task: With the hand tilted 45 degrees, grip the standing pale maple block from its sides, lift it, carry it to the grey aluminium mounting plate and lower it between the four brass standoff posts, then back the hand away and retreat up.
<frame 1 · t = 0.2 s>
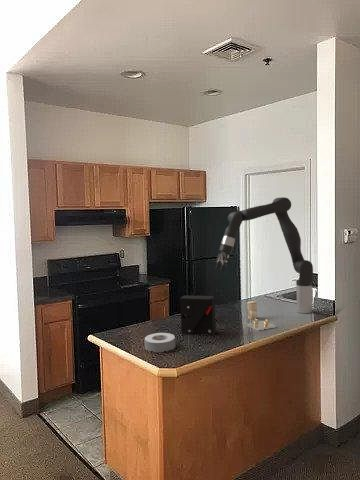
hand: (219, 270, 241), 31 cm above the table, tool tilted 20°, fingers open, 8 cm apart
tape roll: (160, 347, 202), on the table
block: (252, 318, 246), on the table
electrical component: (199, 332, 222), on the table
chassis: (261, 326, 228), on the table
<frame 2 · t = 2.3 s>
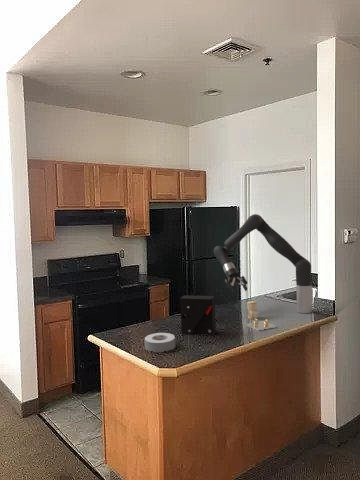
hand: (240, 291, 255), 15 cm above the table, tool tilted 45°, fingers open, 8 cm apart
nothing on the table moved.
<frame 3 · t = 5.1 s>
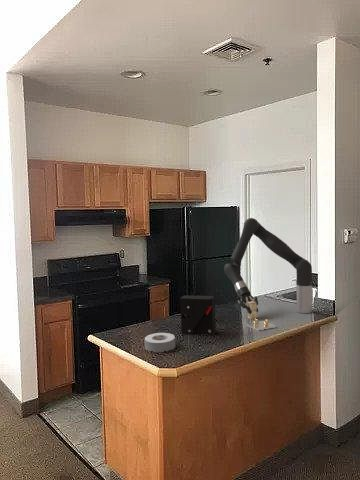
hand: (254, 312, 244), 4 cm above the table, tool tilted 45°, fingers closed on block, 4 cm apart
block: (252, 318, 246), on the table, touching gripper
everything else where it was.
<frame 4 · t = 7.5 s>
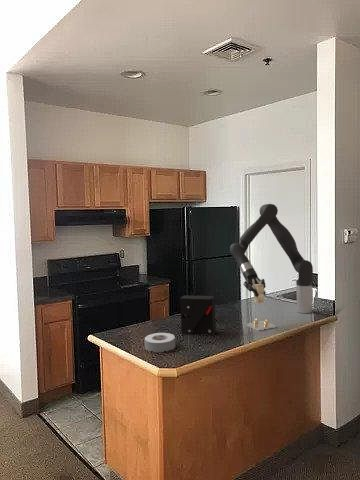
hand: (261, 295, 226), 18 cm above the table, tool tilted 45°, fingers closed on block, 4 cm apart
block: (259, 302, 228), point 14 cm above the table, touching gripper
everything else where it was.
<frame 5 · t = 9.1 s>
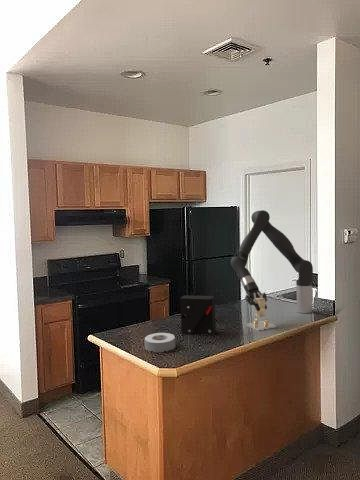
hand: (262, 309, 226), 10 cm above the table, tool tilted 45°, fingers closed on block, 4 cm apart
block: (260, 315, 228), point 6 cm above the table, touching gripper
everything else where it was.
when the fingers open (6 cm above the table, at t = 10.2 s): block drops 1 cm, resting on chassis.
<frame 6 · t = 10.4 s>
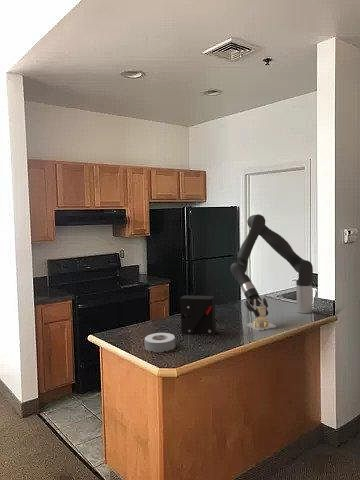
hand: (262, 315, 226), 7 cm above the table, tool tilted 45°, fingers open, 5 cm apart
block: (261, 324, 228), point 1 cm above the table, touching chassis
everything else where it was.
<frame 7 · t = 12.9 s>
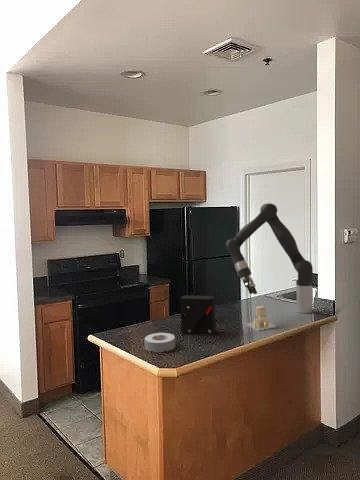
hand: (253, 293, 241), 16 cm above the table, tool tilted 30°, fingers open, 8 cm apart
nothing on the table moved.
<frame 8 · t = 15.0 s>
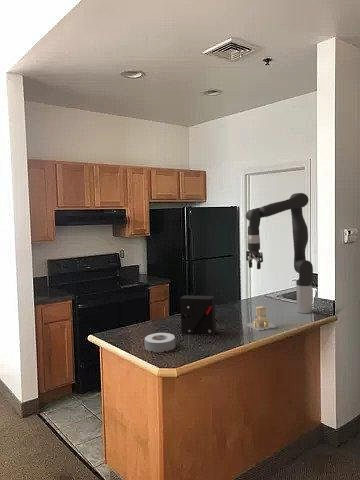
hand: (254, 268, 247), 30 cm above the table, tool pointing down, fingers open, 8 cm apart
nothing on the table moved.
at the end: block 0.1 cm off-centre on the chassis, point 1.0 cm above the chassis's base; block tilted 0°; the gripper is holding nothing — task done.
